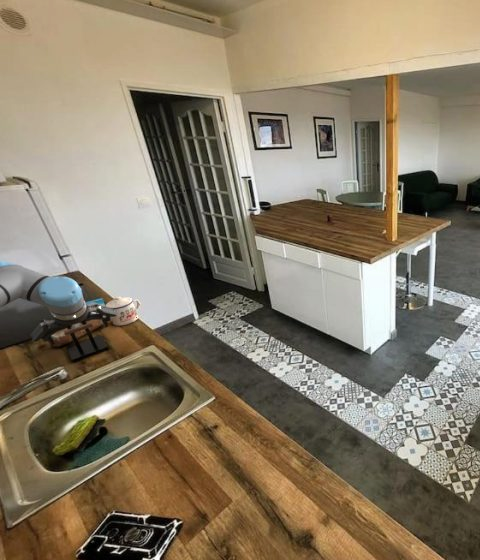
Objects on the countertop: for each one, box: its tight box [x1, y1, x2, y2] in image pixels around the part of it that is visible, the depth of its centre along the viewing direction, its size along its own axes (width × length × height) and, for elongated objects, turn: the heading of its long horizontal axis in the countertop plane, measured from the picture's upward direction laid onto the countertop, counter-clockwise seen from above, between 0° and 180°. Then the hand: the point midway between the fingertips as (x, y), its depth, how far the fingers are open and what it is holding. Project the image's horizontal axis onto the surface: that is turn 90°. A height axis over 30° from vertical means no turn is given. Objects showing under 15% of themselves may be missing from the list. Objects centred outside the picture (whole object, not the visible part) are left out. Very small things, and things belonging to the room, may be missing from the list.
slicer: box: [65, 321, 110, 363], centre depth 114 cm, size 12×10×14 cm
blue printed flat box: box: [85, 297, 106, 309], centre depth 137 cm, size 12×2×6 cm, turn 140°
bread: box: [46, 320, 104, 348], centre depth 123 cm, size 6×19×6 cm, turn 163°
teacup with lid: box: [105, 295, 141, 327], centre depth 134 cm, size 12×9×12 cm
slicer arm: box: [64, 322, 93, 335], centre depth 108 cm, size 13×7×2 cm, turn 50°
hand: (80, 332), depth 107 cm, fingers open, 13 cm apart
